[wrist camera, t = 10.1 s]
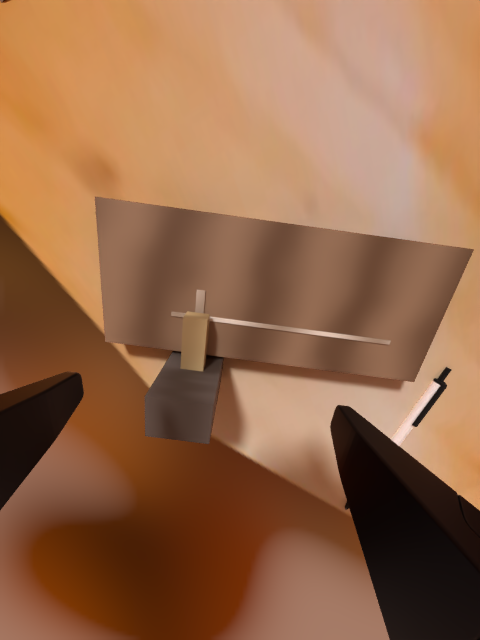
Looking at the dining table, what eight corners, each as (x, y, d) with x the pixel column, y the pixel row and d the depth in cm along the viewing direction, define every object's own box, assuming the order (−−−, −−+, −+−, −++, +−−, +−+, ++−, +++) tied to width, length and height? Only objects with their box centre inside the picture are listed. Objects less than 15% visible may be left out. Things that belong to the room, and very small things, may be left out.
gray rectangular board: (449, 247, 17) (475, 249, 15) (398, 368, 21) (414, 382, 19) (111, 200, 17) (93, 196, 15) (118, 331, 20) (104, 342, 18)
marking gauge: (229, 307, 19) (220, 345, 13) (220, 381, 21) (209, 443, 15) (178, 300, 19) (144, 335, 13) (175, 375, 21) (145, 435, 15)
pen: (449, 367, 21) (460, 374, 20) (347, 505, 27) (351, 516, 26) (440, 364, 21) (450, 371, 20) (340, 504, 27) (344, 515, 26)
